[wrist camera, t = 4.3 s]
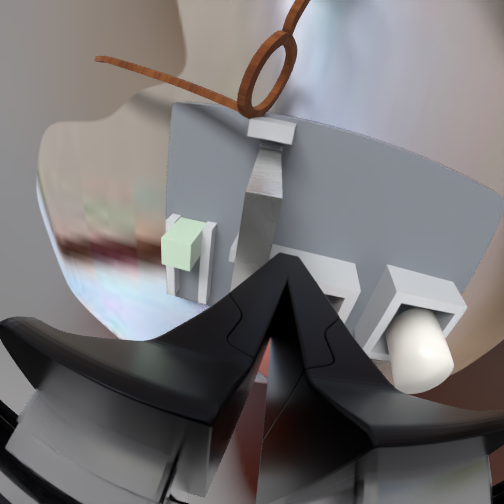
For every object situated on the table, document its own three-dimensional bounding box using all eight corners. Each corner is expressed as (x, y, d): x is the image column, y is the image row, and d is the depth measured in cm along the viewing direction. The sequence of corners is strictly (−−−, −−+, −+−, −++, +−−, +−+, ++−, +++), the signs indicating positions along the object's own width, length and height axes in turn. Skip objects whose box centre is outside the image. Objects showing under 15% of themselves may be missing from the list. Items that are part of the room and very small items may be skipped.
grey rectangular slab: (283, 143, 14) (287, 192, 7) (265, 230, 16) (255, 327, 10) (260, 139, 14) (242, 184, 7) (245, 227, 16) (223, 322, 10)
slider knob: (207, 222, 17) (190, 244, 15) (205, 247, 18) (189, 271, 16) (180, 217, 17) (161, 237, 15) (180, 241, 18) (161, 263, 16)
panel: (493, 190, 14) (530, 218, 10) (418, 332, 21) (430, 373, 17) (186, 101, 15) (147, 105, 11) (176, 278, 23) (151, 317, 19)
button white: (446, 312, 15) (465, 357, 11) (419, 349, 17) (430, 394, 13) (401, 302, 15) (417, 353, 12) (376, 343, 17) (382, 392, 14)
